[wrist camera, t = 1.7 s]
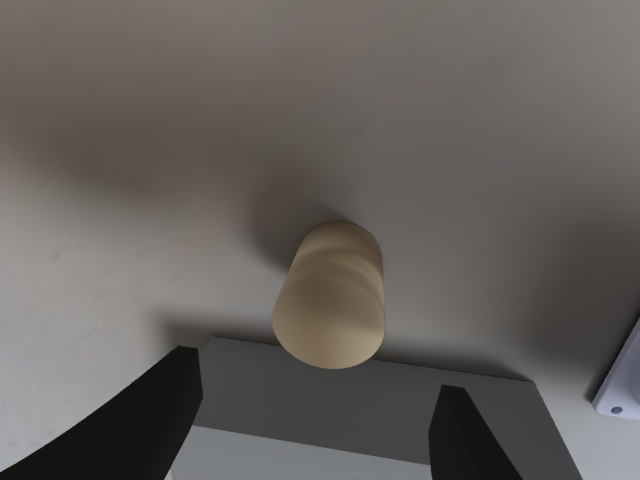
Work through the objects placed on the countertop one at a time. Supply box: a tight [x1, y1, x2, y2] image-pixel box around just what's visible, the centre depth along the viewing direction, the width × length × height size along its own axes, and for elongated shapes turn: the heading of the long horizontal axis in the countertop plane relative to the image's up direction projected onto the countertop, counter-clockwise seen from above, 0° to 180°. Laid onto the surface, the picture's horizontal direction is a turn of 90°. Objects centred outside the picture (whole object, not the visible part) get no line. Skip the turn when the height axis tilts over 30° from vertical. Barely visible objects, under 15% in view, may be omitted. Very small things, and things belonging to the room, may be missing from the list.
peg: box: [272, 221, 385, 369], centre depth 16 cm, size 4×4×5 cm
